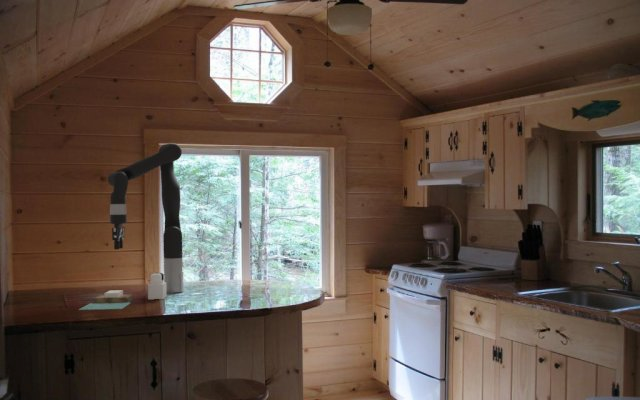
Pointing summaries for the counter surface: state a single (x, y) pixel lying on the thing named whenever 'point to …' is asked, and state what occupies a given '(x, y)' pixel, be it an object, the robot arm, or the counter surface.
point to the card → (113, 293)
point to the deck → (114, 299)
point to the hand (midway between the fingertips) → (118, 248)
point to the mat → (104, 306)
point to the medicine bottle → (157, 287)
